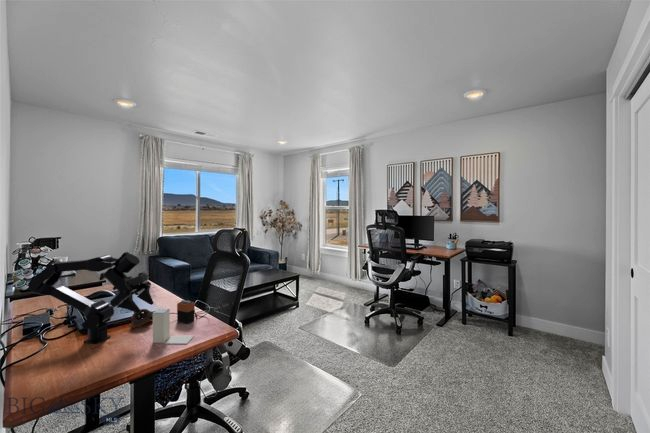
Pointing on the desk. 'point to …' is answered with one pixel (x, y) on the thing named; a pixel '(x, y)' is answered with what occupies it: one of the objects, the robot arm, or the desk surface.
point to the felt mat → (179, 339)
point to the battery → (185, 311)
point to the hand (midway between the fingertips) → (146, 307)
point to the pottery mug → (139, 321)
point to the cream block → (161, 325)
